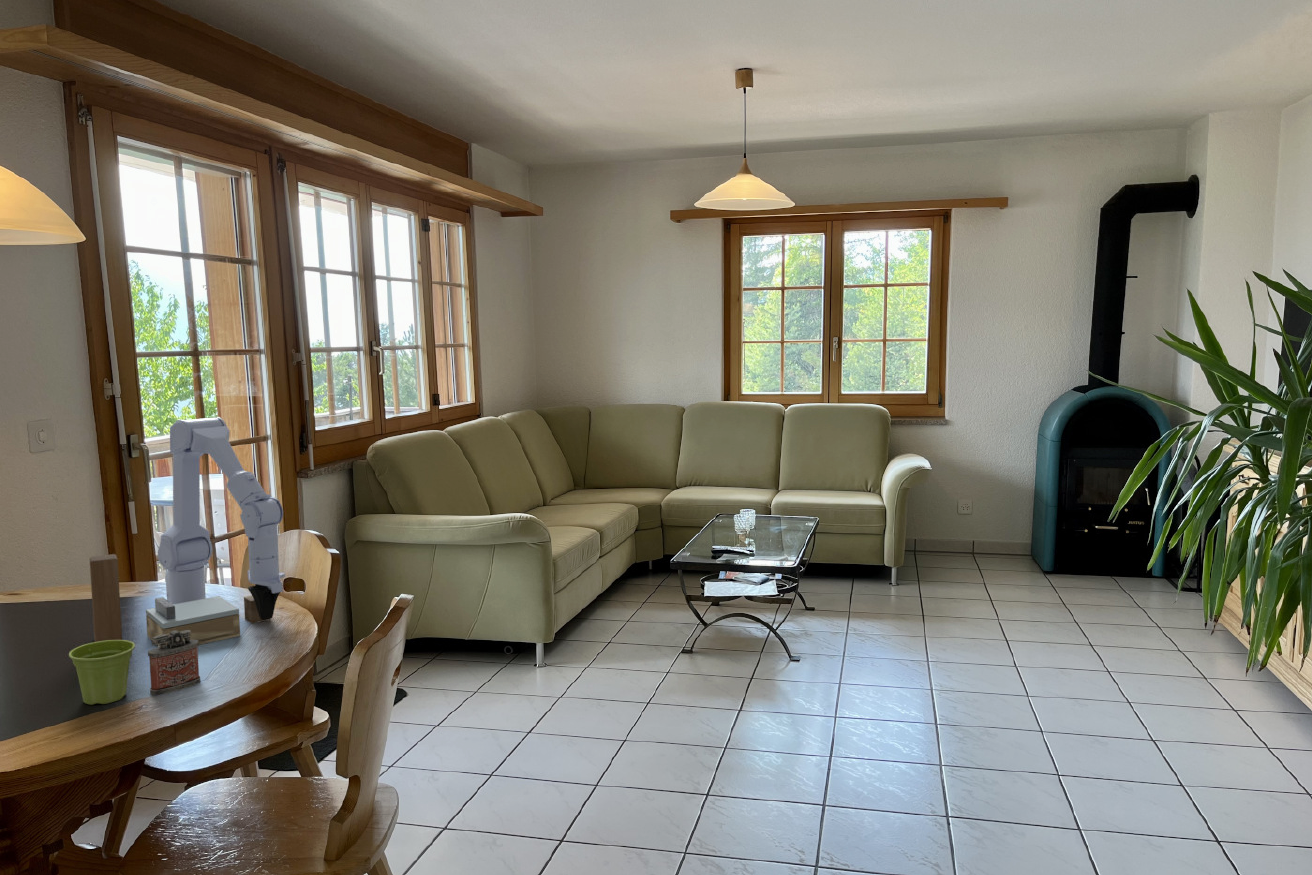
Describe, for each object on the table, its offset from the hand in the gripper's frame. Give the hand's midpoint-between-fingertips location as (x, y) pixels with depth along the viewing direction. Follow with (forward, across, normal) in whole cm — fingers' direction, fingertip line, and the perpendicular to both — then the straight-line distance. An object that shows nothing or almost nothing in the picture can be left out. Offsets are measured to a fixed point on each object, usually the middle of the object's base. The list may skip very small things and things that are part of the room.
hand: (266, 618), depth 185 cm
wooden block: (+2, +10, +27) cm, 29 cm away
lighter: (+2, -23, +24) cm, 34 cm away
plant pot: (+2, -20, +34) cm, 40 cm away
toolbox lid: (-3, +3, +14) cm, 14 cm away
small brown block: (+2, +5, 0) cm, 5 cm away
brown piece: (+1, +3, +14) cm, 14 cm away
